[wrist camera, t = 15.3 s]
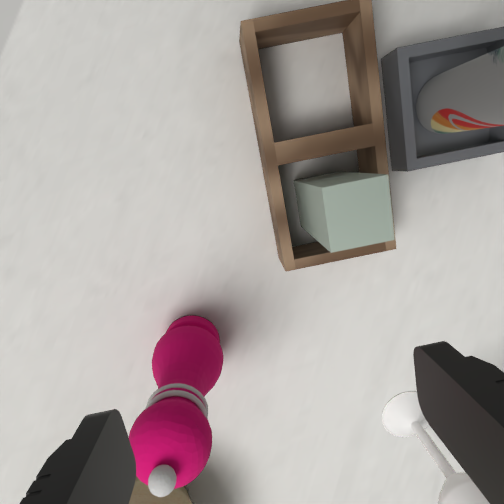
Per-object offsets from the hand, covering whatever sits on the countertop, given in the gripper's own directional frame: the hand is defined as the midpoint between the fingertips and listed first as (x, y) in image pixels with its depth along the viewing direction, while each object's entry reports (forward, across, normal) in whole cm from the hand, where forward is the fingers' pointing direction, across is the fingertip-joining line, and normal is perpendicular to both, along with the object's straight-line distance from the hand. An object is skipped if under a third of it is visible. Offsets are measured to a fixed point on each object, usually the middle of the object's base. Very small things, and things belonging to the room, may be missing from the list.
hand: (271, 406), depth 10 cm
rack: (+30, -9, -6) cm, 32 cm away
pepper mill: (+30, +8, +12) cm, 34 cm away
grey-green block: (+30, -9, -1) cm, 31 cm away
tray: (+30, -22, -8) cm, 38 cm away
